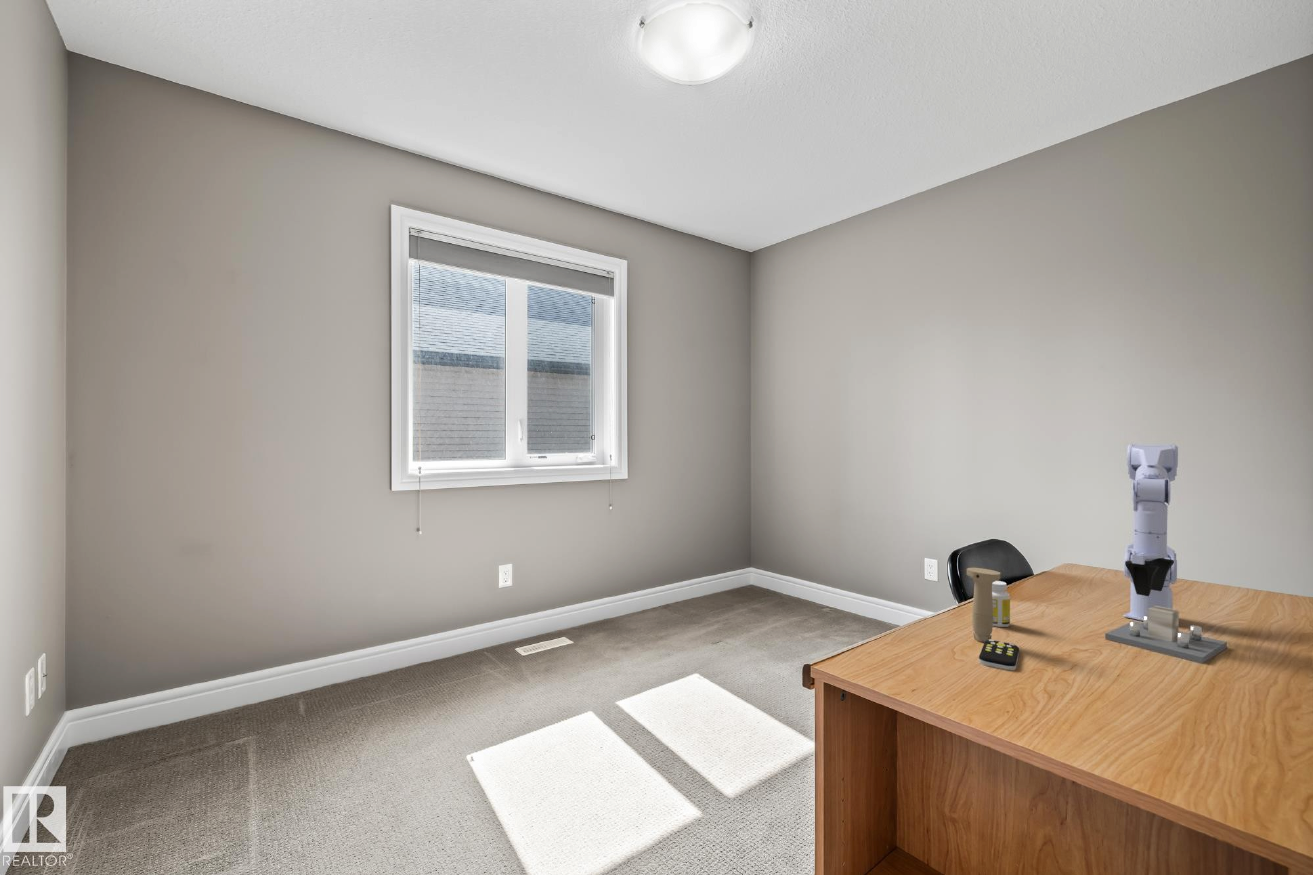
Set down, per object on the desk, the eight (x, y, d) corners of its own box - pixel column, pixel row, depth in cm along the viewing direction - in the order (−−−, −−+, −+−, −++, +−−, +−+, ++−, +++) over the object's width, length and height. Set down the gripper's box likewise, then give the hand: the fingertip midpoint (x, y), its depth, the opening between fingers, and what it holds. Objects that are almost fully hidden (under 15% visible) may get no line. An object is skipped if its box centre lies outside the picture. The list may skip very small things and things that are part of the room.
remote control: (977, 666, 113) (977, 655, 113) (985, 646, 123) (985, 637, 123) (1015, 674, 109) (1015, 663, 109) (1019, 653, 120) (1019, 643, 120)
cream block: (1154, 632, 128) (1155, 605, 128) (1178, 638, 125) (1178, 610, 125) (1147, 636, 126) (1148, 608, 126) (1171, 641, 123) (1172, 613, 123)
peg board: (1133, 626, 136) (1133, 609, 136) (1226, 647, 123) (1227, 628, 123) (1105, 638, 128) (1105, 620, 128) (1202, 663, 114) (1202, 643, 114)
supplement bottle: (1006, 621, 139) (1007, 580, 139) (1012, 628, 134) (1013, 586, 134) (981, 619, 141) (981, 578, 140) (985, 626, 135) (986, 584, 135)
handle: (973, 633, 130) (973, 566, 130) (1003, 642, 125) (1004, 572, 125) (961, 637, 127) (962, 569, 127) (992, 646, 122) (993, 575, 122)
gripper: (1140, 526, 138) (1139, 584, 138) (1115, 532, 130) (1114, 592, 130) (1178, 531, 132) (1177, 591, 132) (1155, 537, 124) (1154, 600, 124)
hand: (1149, 592), depth 131 cm, fingers open, 7 cm apart
